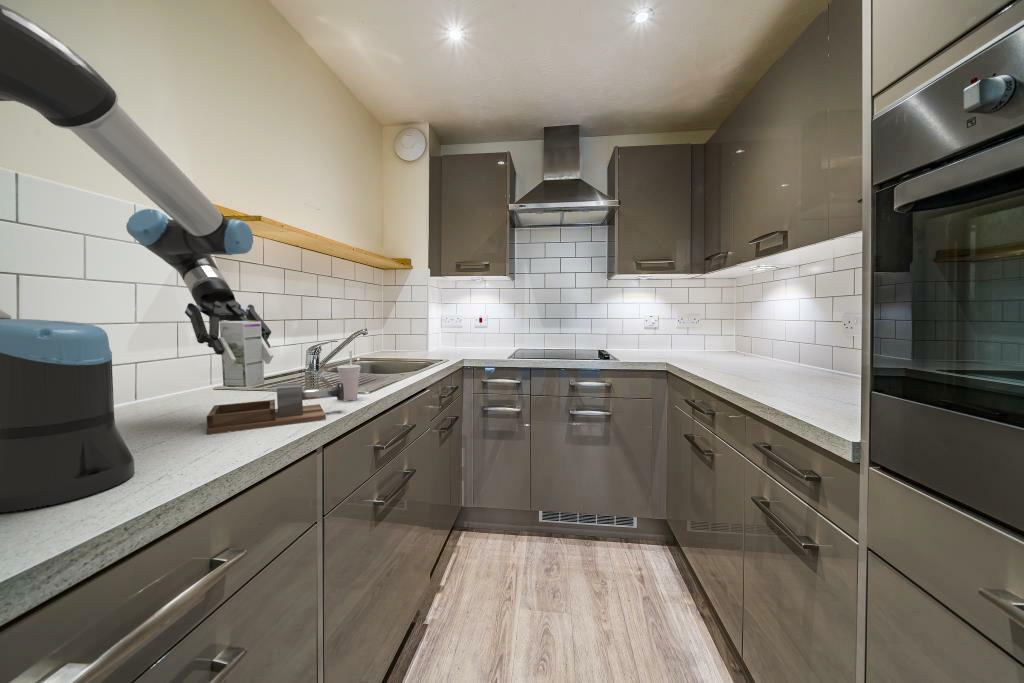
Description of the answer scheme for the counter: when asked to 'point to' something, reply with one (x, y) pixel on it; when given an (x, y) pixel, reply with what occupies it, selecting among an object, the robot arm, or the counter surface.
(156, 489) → the counter surface
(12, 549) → the counter surface
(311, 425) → the counter surface
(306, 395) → the shaft
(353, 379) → the smoothie
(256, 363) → the syrup box
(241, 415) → the jig
